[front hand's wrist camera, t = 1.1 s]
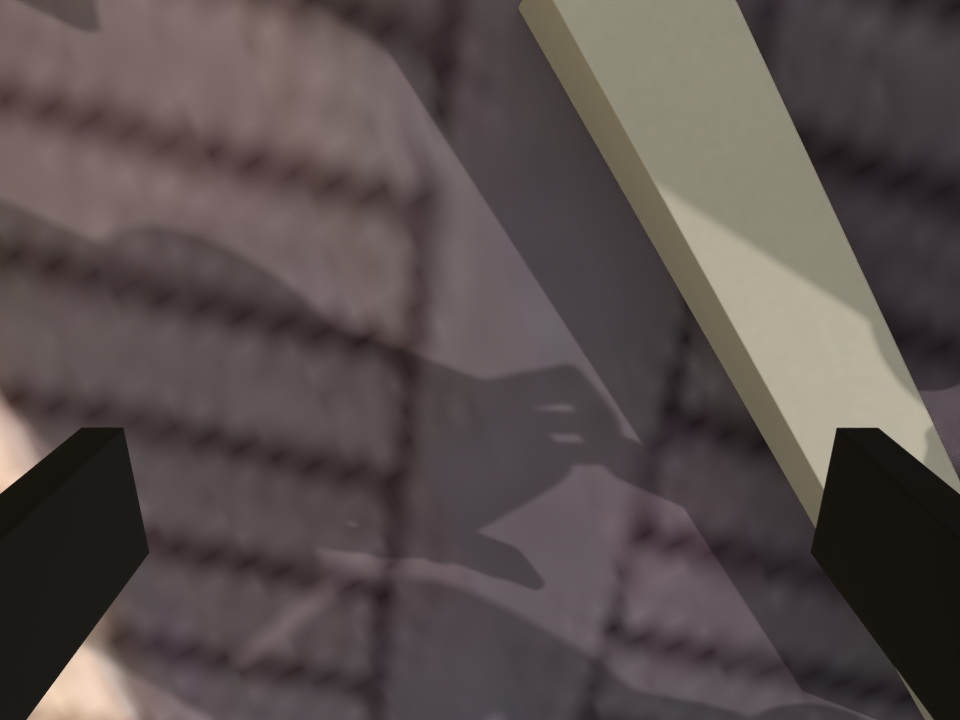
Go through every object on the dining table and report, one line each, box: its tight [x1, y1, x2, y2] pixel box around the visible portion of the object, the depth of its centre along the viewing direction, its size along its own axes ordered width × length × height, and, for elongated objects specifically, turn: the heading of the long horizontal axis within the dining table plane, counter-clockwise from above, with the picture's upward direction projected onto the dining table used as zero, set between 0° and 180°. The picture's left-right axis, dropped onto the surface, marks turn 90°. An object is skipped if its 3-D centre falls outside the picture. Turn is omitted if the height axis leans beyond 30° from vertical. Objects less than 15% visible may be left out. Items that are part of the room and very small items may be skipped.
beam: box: [518, 0, 960, 720], centre depth 31 cm, size 50×5×9 cm, turn 33°
